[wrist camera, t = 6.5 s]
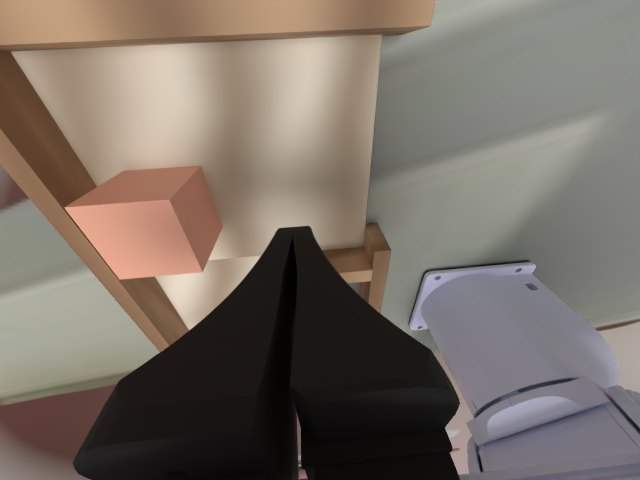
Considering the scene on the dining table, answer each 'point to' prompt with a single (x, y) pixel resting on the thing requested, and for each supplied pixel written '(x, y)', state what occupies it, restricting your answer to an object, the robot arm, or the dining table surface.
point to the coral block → (151, 221)
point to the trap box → (204, 126)
